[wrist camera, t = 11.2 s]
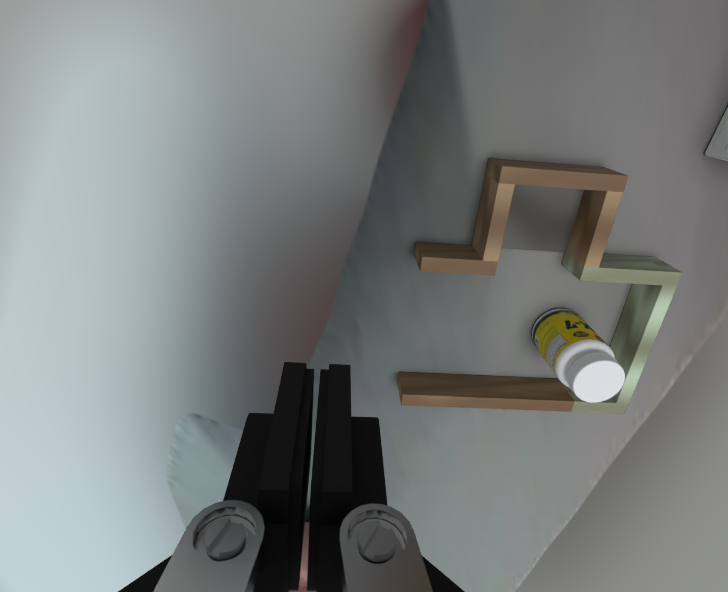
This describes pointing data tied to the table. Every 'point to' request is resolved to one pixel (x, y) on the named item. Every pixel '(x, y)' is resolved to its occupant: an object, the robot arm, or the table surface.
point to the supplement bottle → (578, 355)
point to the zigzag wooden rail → (582, 258)
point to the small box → (720, 140)
